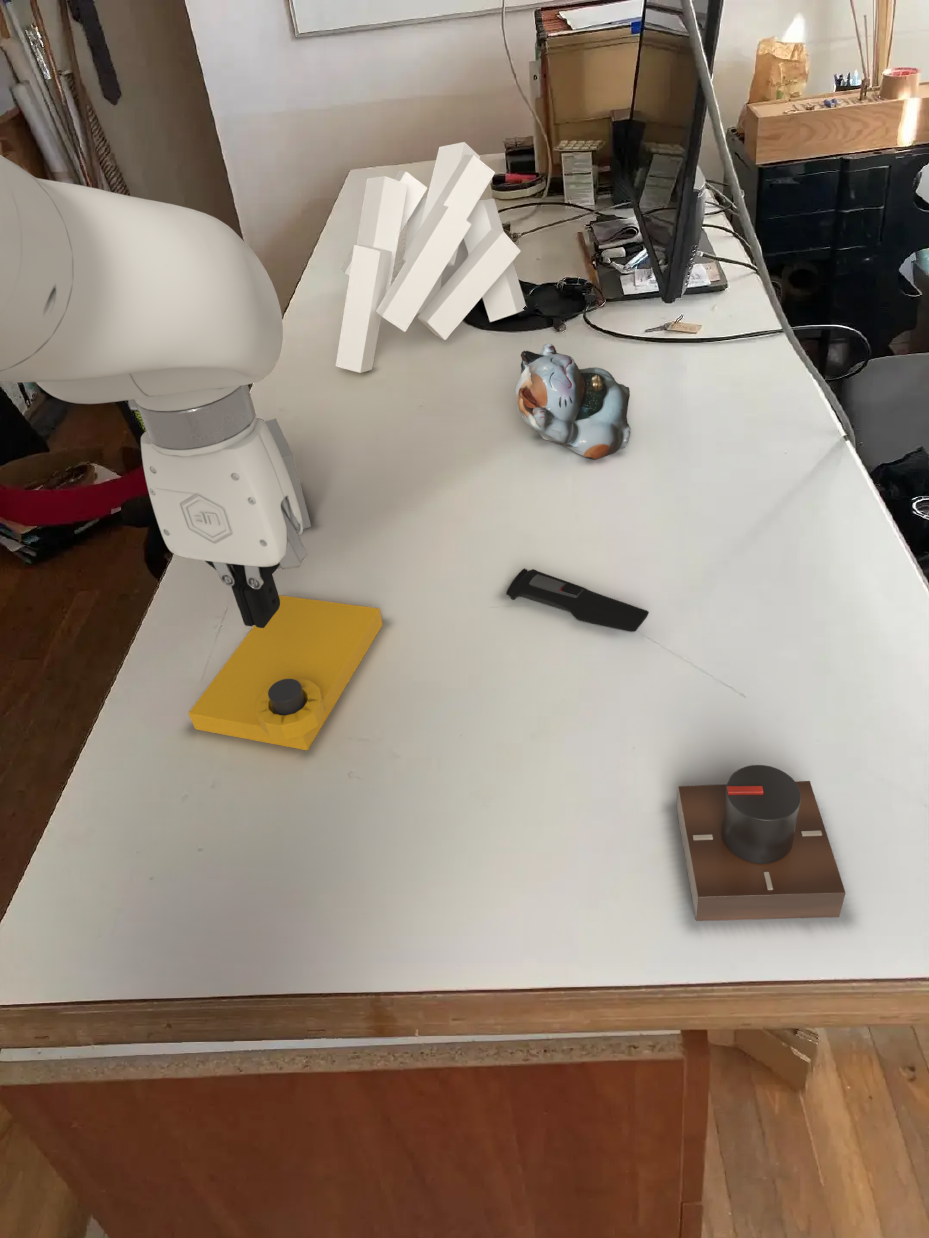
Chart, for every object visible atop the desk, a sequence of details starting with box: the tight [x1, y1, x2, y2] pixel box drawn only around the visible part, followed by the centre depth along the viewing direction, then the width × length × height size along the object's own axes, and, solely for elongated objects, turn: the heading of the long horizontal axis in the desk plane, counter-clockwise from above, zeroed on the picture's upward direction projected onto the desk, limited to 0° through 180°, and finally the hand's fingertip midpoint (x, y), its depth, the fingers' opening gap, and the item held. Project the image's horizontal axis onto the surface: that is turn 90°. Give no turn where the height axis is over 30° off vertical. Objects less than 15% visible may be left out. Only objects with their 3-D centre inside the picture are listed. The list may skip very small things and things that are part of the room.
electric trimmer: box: [505, 568, 650, 633], centre depth 94 cm, size 4×16×3 cm, turn 54°
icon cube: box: [264, 418, 312, 530], centre depth 112 cm, size 10×10×10 cm
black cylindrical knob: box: [268, 679, 305, 716], centre depth 83 cm, size 3×3×2 cm
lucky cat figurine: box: [514, 343, 632, 460], centre depth 118 cm, size 15×12×14 cm
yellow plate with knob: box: [188, 594, 384, 751], centre depth 90 cm, size 19×13×4 cm
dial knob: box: [722, 764, 801, 864], centre depth 67 cm, size 5×5×5 cm
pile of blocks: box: [335, 141, 527, 374], centre depth 147 cm, size 35×30×35 cm
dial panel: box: [676, 780, 846, 922], centre depth 69 cm, size 10×10×3 cm
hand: (263, 616), depth 76 cm, fingers closed
